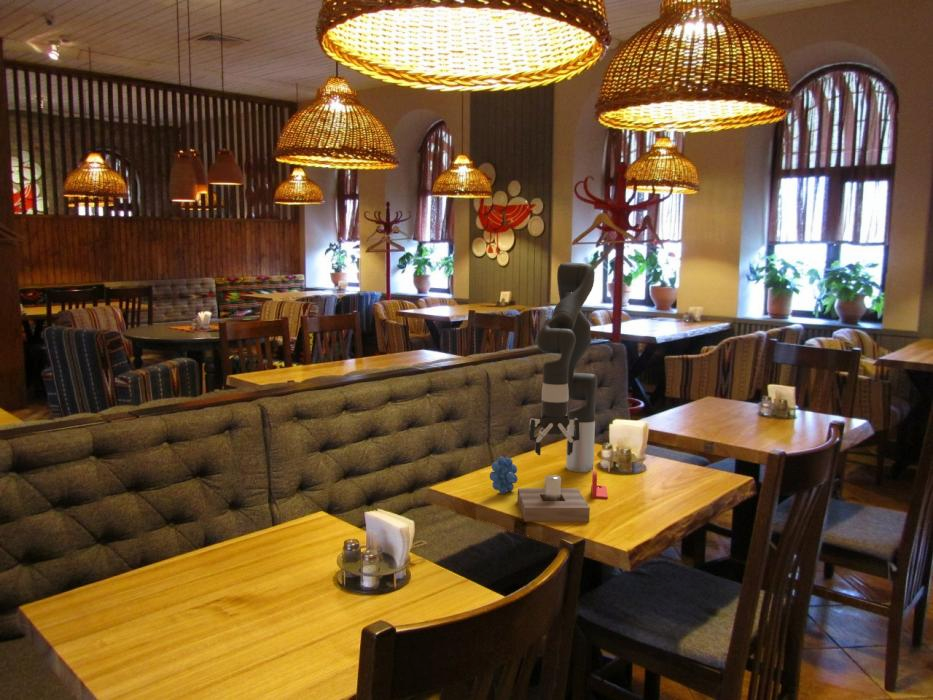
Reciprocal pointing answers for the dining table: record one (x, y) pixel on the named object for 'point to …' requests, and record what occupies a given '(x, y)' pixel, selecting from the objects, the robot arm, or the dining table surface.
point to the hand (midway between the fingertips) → (553, 454)
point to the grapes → (503, 474)
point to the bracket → (598, 492)
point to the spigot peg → (552, 488)
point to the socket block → (552, 506)
